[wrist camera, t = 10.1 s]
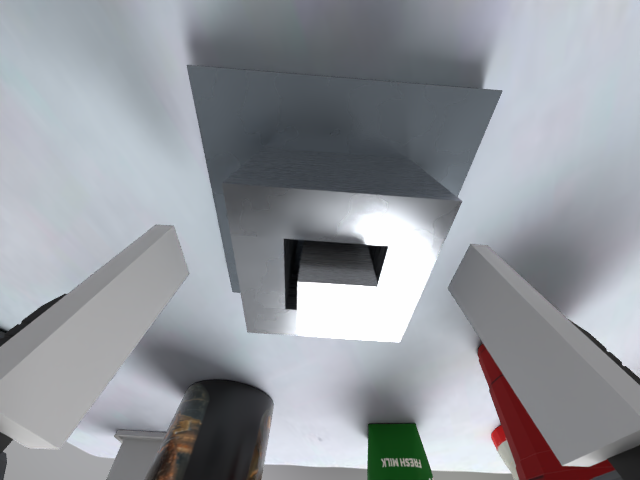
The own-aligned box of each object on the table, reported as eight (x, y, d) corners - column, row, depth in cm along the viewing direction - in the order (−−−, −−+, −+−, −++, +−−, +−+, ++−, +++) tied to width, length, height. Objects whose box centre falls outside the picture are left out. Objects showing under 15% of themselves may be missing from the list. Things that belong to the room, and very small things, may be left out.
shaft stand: (238, 278, 19) (184, 392, 12) (202, 68, 11) (-18, 24, 4) (406, 290, 19) (453, 409, 12) (483, 90, 11) (745, 87, 4)
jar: (272, 382, 28) (227, 614, 16) (275, 419, 35) (245, 606, 22) (176, 375, 28) (54, 605, 15) (197, 415, 34) (123, 600, 22)
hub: (270, 262, 16) (247, 332, 11) (263, 147, 12) (221, 183, 7) (379, 270, 16) (399, 342, 11) (409, 158, 12) (462, 201, 7)
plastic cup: (438, 331, 22) (533, 535, 12) (572, 297, 19) (848, 530, 9) (457, 382, 27) (535, 554, 17) (565, 362, 24) (735, 555, 14)
